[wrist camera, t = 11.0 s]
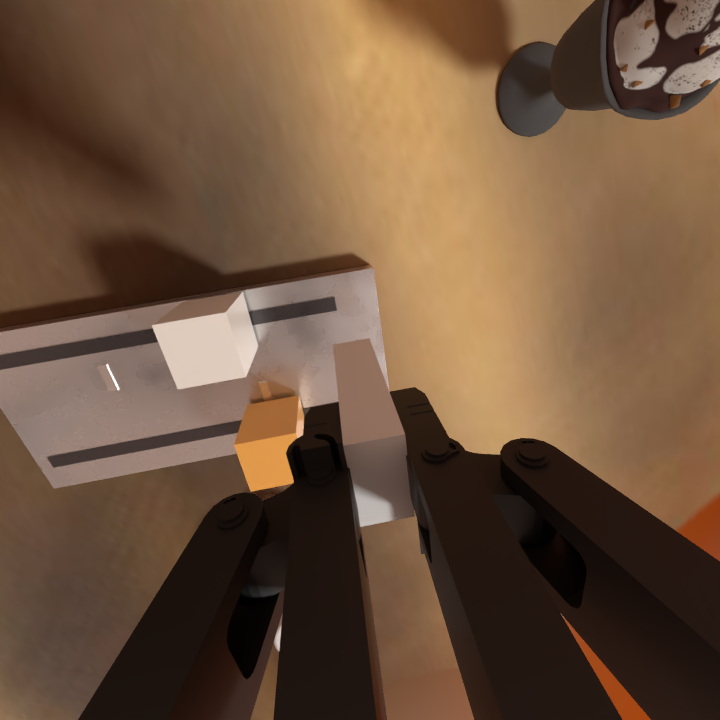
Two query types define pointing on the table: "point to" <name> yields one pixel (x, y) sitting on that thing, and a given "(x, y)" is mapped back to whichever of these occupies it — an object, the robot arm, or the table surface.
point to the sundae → (616, 64)
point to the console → (155, 382)
